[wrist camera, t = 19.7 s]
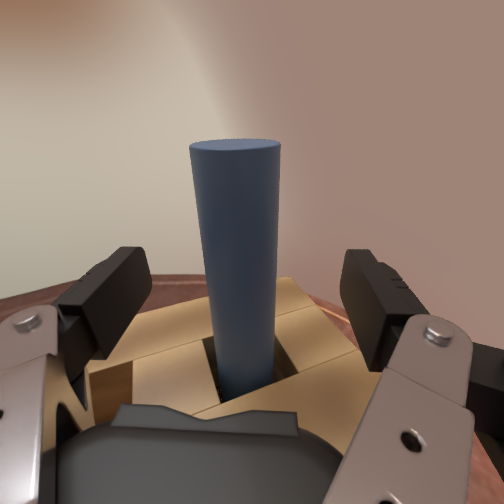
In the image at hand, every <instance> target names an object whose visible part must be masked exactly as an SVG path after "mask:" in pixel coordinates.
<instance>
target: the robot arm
mask: <svg viewBox="0 0 504 504" xmlns="http://www.w3.org/2000/svg"><path fill="white" fill-rule="evenodd" d="M151 289H152V278H151V274H150V270H149V266H148V263H147V259H146V255H145V251H144V250H143V248H142V247H120V248H119V249H118V250H116V251H115V252H114V253H113V254H112V255H111V256H110V257H109V258H108V259H106V260H104V261H102V262H100V263H98V264H96V265H95V266H94V267H92V268H91V269H90V270H89V271H88V272H87V273H86V275H83V276H82V277H81V278H80V279H79V280H78V282H76V283H74V284H73V285H72V286H71V287H70V288H69V289H68V290H66V291H65V292H64V293H63V294H62V295H61V296H60V297H59V298H57V299H56V300H55V301H54V302H53V303H52V304H51V305H38V306H33V307H30V308H27V309H24V310H22V311H19V312H17V313H15V314H13V315H12V316H10V317H8V318H7V319H5V320H4V321H3V322H2V323H1V324H0V504H467V496H468V486H469V475H470V465H471V454H472V444H473V433H474V432H475V434H476V435H477V437H478V439H479V440H480V442H481V444H482V446H483V447H484V449H485V451H486V452H487V454H488V456H489V458H490V459H491V461H492V463H493V465H494V466H495V468H496V470H497V471H498V473H499V475H500V477H501V478H502V480H503V482H504V350H502V349H498V348H494V347H490V346H486V345H482V344H477V343H474V342H472V341H471V339H470V337H469V336H468V335H467V334H466V333H465V332H464V331H463V330H462V329H461V328H460V327H458V326H457V325H455V324H454V323H452V322H450V321H448V320H445V319H443V318H440V317H437V316H433V315H430V313H429V312H428V311H427V310H426V309H425V307H424V306H423V305H422V303H421V302H420V301H419V299H418V298H417V297H416V296H415V294H414V293H413V292H412V291H411V289H409V287H408V286H407V284H406V283H405V282H404V281H402V278H401V277H400V276H399V274H398V273H397V272H396V270H394V269H393V268H391V267H390V266H388V265H387V264H385V263H383V262H378V261H377V260H376V258H375V257H374V255H373V254H372V253H371V251H370V250H368V249H348V250H347V251H346V253H345V258H344V264H343V269H342V275H341V281H340V296H341V299H342V302H343V305H344V308H345V310H346V313H347V316H348V318H349V321H350V323H351V326H352V329H353V331H354V334H355V337H356V339H357V342H358V344H359V347H360V350H361V352H362V355H363V358H364V360H365V363H366V365H367V368H368V371H369V372H382V374H381V376H380V378H379V381H378V383H377V385H376V387H375V389H374V392H373V394H372V396H371V398H370V400H369V402H368V405H367V407H366V409H365V411H364V413H363V416H362V418H361V420H360V422H359V424H358V426H357V429H356V431H355V433H354V435H353V437H352V440H351V442H350V444H349V446H348V448H347V450H346V453H345V455H343V454H342V453H341V452H340V451H338V450H337V449H336V448H335V447H334V446H332V445H331V444H330V443H329V442H327V441H325V440H324V439H322V438H321V437H319V436H318V435H316V434H314V433H312V432H310V431H308V430H305V429H302V428H300V427H298V418H297V412H289V411H269V410H249V411H244V412H240V413H235V414H231V415H226V416H222V417H217V418H213V419H207V420H205V419H200V418H197V417H194V416H191V415H189V414H186V413H183V412H180V411H178V410H175V409H172V408H169V407H167V406H164V405H149V404H129V403H121V405H120V407H119V409H118V411H117V413H116V415H115V417H114V419H111V420H108V421H105V422H102V423H99V424H96V425H95V421H94V414H93V406H92V397H91V388H90V380H89V372H88V369H87V367H86V365H87V364H88V362H89V361H90V360H107V358H108V357H109V355H110V354H111V352H112V351H113V349H114V348H115V346H116V345H117V343H118V342H119V340H120V339H121V337H122V335H123V334H124V332H125V331H126V329H127V328H128V326H129V325H130V323H131V322H132V320H133V319H134V317H135V316H136V314H137V313H138V311H139V310H140V308H141V307H142V305H143V303H144V302H145V300H146V299H147V297H148V296H149V294H150V292H151Z"/></svg>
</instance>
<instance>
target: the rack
mask: <svg viewBox="0 0 504 504" xmlns="http://www.w3.org/2000/svg"><path fill="white" fill-rule="evenodd" d="M86 367H87V369H88V372H89V380H90V388H91V397H92V406H93V414H94V421H95V425H96V424H99V423H102V422H105V421H108V420H111V419H114V417H115V415H116V413H117V411H118V409H119V407H120V405H121V403H129V404H149V405H164V406H167V407H169V408H172V409H175V410H178V411H180V412H183V413H186V414H189V415H191V416H194V417H197V418H200V419H205V420H207V419H213V418H217V417H222V416H226V415H231V414H235V413H240V412H244V411H249V410H269V411H289V412H297V418H298V427H300V428H302V429H305V430H308V431H310V432H312V433H314V434H316V435H318V436H319V437H321V438H322V439H324V440H325V441H327V442H329V443H330V444H331V445H332V446H334V447H335V448H336V449H337V450H338V451H340V452H341V453H342V454H343V455H345V453H346V450H347V448H348V446H349V444H350V442H351V440H352V437H353V435H354V433H355V431H356V429H357V426H358V424H359V422H360V420H361V418H362V416H363V413H364V411H365V409H366V407H367V405H368V402H369V400H370V398H371V396H372V394H373V392H374V389H375V387H376V385H377V383H378V381H379V378H380V376H381V373H380V372H369V371H368V368H367V365H366V363H365V360H364V358H363V355H362V353H361V352H360V351H359V350H357V348H356V347H355V346H354V345H353V344H352V343H351V341H350V340H349V339H348V338H347V337H346V336H345V335H344V334H343V333H342V332H341V331H340V330H339V329H338V328H337V327H336V326H335V324H334V323H333V322H332V321H331V320H330V319H329V318H328V317H327V316H326V315H325V314H324V313H323V312H322V311H321V310H320V309H319V307H318V306H317V305H315V303H314V302H313V301H312V300H311V299H310V298H309V297H308V296H307V295H306V293H305V292H304V291H303V290H302V289H301V288H300V287H299V286H298V285H297V284H296V283H295V282H294V281H293V280H292V279H291V278H290V276H286V277H283V278H278V279H276V306H275V338H274V369H273V384H271V385H268V386H265V387H263V388H260V389H258V390H255V391H253V392H250V393H248V394H245V395H243V396H240V397H238V398H235V399H233V400H230V401H228V402H225V403H223V404H221V403H220V399H219V396H218V393H217V389H216V387H218V386H220V381H219V374H218V366H217V358H216V350H215V343H214V335H213V327H212V320H211V312H210V304H209V296H207V297H203V298H199V299H196V300H192V301H188V302H184V303H180V304H176V305H172V306H168V307H164V308H160V309H156V310H152V311H148V312H144V313H141V314H137V315H136V316H135V317H134V319H133V320H132V322H131V323H130V325H129V326H128V328H127V329H126V331H125V332H124V334H123V335H122V337H121V339H120V340H119V342H118V343H117V345H116V346H115V348H114V349H113V351H112V352H111V354H110V355H109V357H108V358H107V360H90V361H89V362H88V364H87V365H86Z"/></svg>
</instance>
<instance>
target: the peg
mask: <svg viewBox="0 0 504 504" xmlns="http://www.w3.org/2000/svg"><path fill="white" fill-rule="evenodd" d="M280 149H281V144H280V142H278V141H274V140H266V139H222V140H210V141H201V142H196V143H193V144H191V145H190V146H189V150H190V158H191V165H192V173H193V181H194V189H195V195H196V203H197V211H198V219H199V227H200V235H201V243H202V250H203V258H204V265H205V273H206V281H207V289H208V296H209V304H210V312H211V320H212V327H213V335H214V343H215V350H216V358H217V366H218V374H219V381H220V389H221V397H222V404H223V403H225V402H228V401H230V400H233V399H235V398H238V397H240V396H243V395H245V394H248V393H250V392H253V391H255V390H258V389H260V388H263V387H265V386H268V385H271V384H273V369H274V338H275V306H276V273H277V243H278V212H279V179H280Z"/></svg>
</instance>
